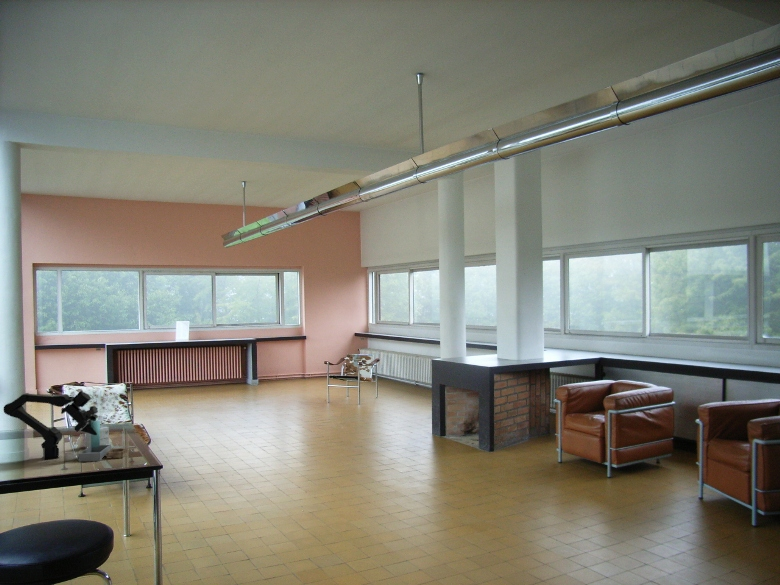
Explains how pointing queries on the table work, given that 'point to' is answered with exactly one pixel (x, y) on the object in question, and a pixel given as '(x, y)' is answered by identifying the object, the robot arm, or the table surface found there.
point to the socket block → (117, 452)
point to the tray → (94, 453)
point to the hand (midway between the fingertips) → (98, 433)
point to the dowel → (95, 438)
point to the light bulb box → (103, 436)
